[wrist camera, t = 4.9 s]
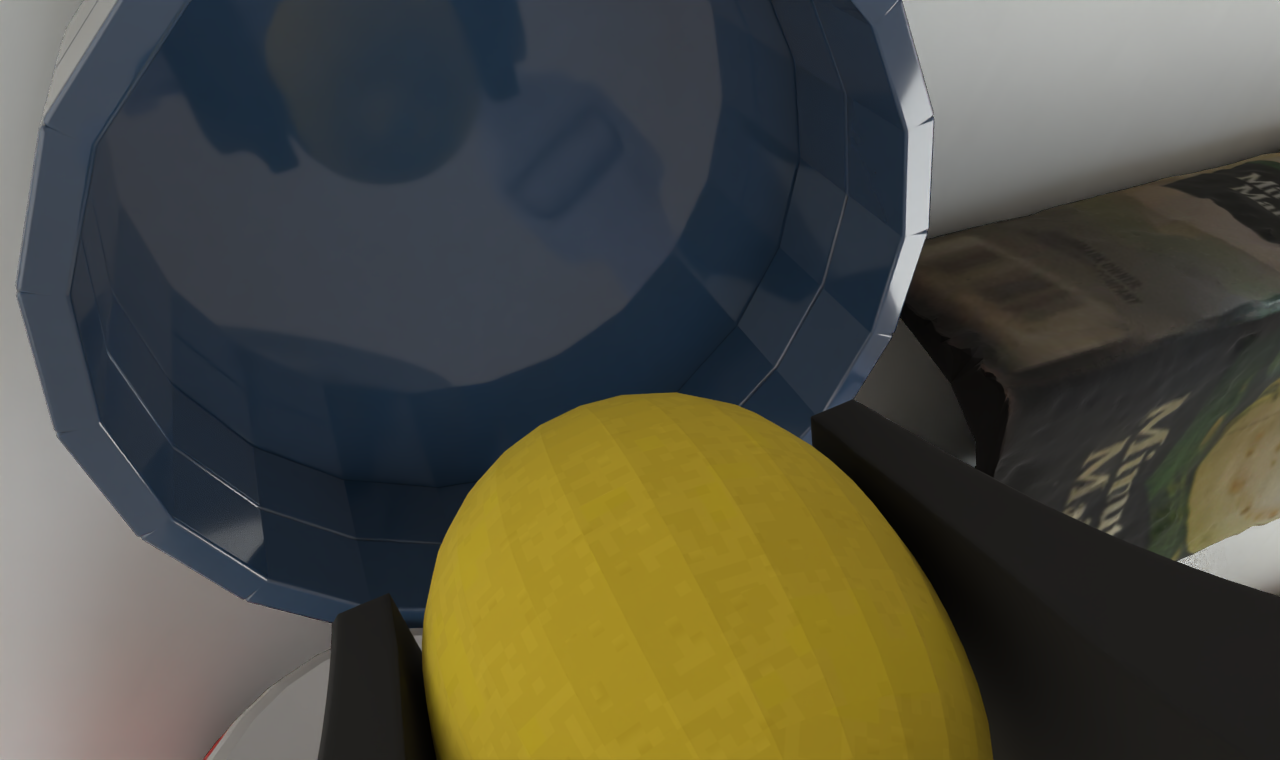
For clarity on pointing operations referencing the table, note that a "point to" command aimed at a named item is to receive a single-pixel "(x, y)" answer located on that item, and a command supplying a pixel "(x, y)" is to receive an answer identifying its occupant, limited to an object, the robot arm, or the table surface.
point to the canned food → (284, 717)
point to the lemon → (686, 603)
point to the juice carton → (1122, 353)
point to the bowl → (445, 250)
